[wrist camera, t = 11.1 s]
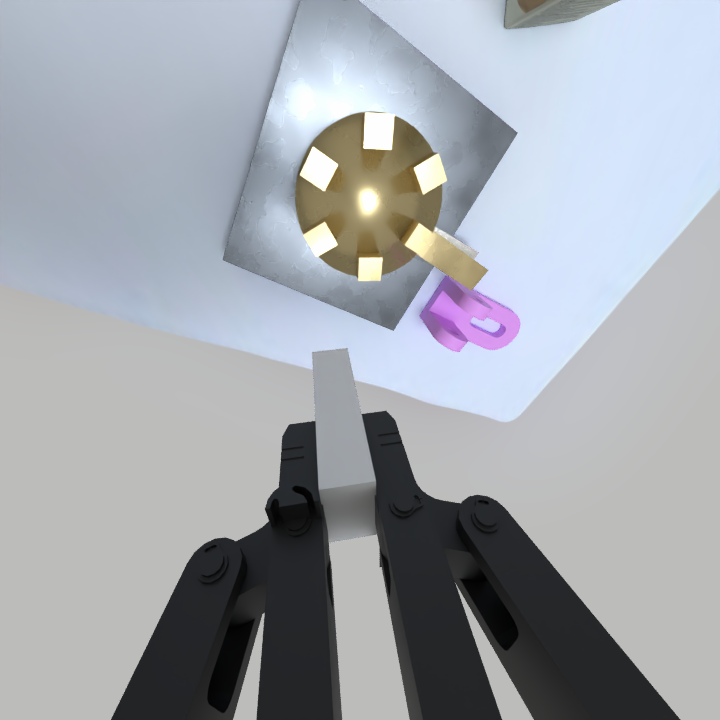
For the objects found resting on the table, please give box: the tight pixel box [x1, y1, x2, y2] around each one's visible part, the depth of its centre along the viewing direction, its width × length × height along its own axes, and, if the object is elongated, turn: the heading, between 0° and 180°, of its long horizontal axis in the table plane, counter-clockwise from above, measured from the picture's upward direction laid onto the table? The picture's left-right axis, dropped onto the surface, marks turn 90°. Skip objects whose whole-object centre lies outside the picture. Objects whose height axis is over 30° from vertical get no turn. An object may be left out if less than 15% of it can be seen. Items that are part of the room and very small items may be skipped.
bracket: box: [420, 276, 520, 352], centre depth 38 cm, size 13×6×7 cm, turn 62°
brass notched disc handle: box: [295, 111, 488, 291], centre depth 28 cm, size 19×12×4 cm, turn 57°
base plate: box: [223, 0, 517, 331], centre depth 30 cm, size 22×21×2 cm
